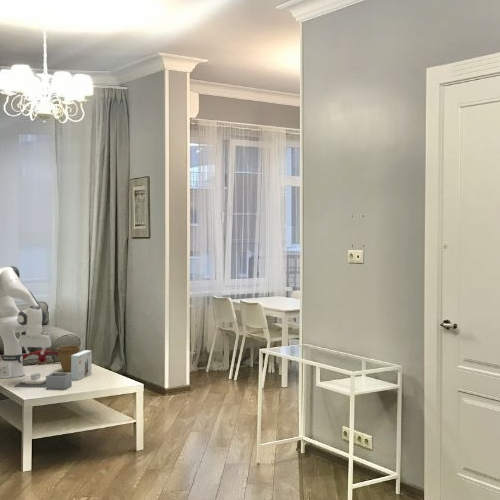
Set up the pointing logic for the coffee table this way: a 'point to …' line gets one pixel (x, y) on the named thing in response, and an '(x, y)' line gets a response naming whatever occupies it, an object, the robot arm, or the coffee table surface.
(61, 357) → the plant pot
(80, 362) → the skincare box
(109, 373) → the coffee table surface
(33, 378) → the cream lid
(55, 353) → the decorative bird sculpture
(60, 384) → the grey storage box
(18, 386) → the black rubber mat
